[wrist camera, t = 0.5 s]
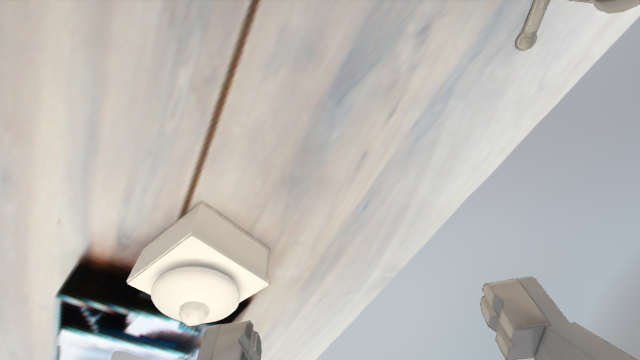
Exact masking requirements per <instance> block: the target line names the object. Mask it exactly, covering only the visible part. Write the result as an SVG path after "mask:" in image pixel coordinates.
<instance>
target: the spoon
mask: <svg viewBox="0 0 640 360" xmlns="http://www.w3.org/2000/svg"><path fill="white" fill-rule="evenodd" d="M549 2H550V0H534V2H533V5H532V8H531V10H530V13H529V15H528V18H527V21H526V23H525V26H524V28H523V31H522V33H521V34H520V35H519V36H518V38H517V40H516V47H517V48H518V49H519V50H523V51H525V50H528V49H530V48H531V47H532V46H533V45H534V44H535V42H536V39H537V34H536V33H537V31H538V28H539V26H540V23H541V21H542V19H543V16H544V14H545V11H546V9H547V6H548V4H549Z"/></svg>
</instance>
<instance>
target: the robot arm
mask: <svg viewBox="0 0 640 360" xmlns="http://www.w3.org/2000/svg"><path fill="white" fill-rule="evenodd" d="M482 291H483V293H484V296H483V297H482V298H481V303H480V305H481V310H482V313H483V316H484V319H485V321H486V323H487V325H488V326H489V327H490V328H491V329H492V330H494V331H495V332H497V333H496V339H495V340H496V342H497V344H498V346H499V348H500V350H501V352H502V354H503V355H504V357H505V359H506V360H517V359H526V358H534V359H535V360H638V359H636V358H634V357H633V356H631V355H629V354H627V353H626V352H624V351H622V350H621V349H619V348H617V347H616V346H614V345H612V344H611V343H609V342H607V341H606V340H604V339H602V338H600V337H599V336H597V335H595V334H594V333H592V332H590V331H589V330H587V329H585V328H584V327H582V326H580V325H579V324H577V323H575V322H573V323H569V321H568V320H567V319H566V317H565V316H564V315H563V313H562V312H561V311H560V310H559V308H558V307H557V306H556V304H555V303H554V302H553V300H552V299H551V298H550V297H549V295H548V294H547V293H546V291H545V290H544V289H543V288H542V286H541V285H540V284H539V282H538V281H537V280H536V279H535V278H533V277H530V276H529V277H523V278H517V279H509V280H503V281H498V282H492V283H486V284H484V285H483V288H482ZM261 351H262V350H261V340H260V336H259V334H258V332H256V331H254V330H253V324H252V322H251V321H250V320H249V321H243V322H236V323H230V324H221V325H215V326H209V327H208V328H207V329H206V331H205V333H204V337H203V340H202V343H201V347H200V350H199V354H198V357H197V360H261Z"/></svg>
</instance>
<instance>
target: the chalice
mask: <svg viewBox="0 0 640 360" xmlns="http://www.w3.org/2000/svg"><path fill="white" fill-rule="evenodd" d="M570 1H577V2H585V3H593V4H594V6H595V7H596V8H597V9H598V10H600V11H603V12H606V13H617V12H623V11H626V10H628V9H631V8H633V7H636V6H638V5H639V4H640V0H570Z"/></svg>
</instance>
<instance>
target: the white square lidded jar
mask: <svg viewBox="0 0 640 360" xmlns="http://www.w3.org/2000/svg"><path fill="white" fill-rule="evenodd" d="M269 251H270V249H269V248H268V247H266V246H265V245H263V244H262V243H260V242H259V241H258V240H256V239H255V238H253V237H252V236H251V235H249V234H248V233H246V232H245V231H244V230H242V229H241V228H239V227H238V226H236V225H235V224H234V223H232V222H231V221H229V220H228V219H227V218H225V217H224V216H222V215H221V214H220V213H218V212H217V211H215V210H214V209H212V208H211V207H210V206H208V205H207V204H205V203H204V202H203V201H201V202H200V203H199V204H198V205H196V206H195V207H194V208H193V209H191V210H190V211H189V212H188V213H186V214H185V215H184V216H183V217H181V218H180V219H179V220H178V221H176V222H175V223H174V224H173V225H171V226H170V227H169V228H168V229H166V230H165V231H164V232H163V233H161V234H160V235H159V236H158V237H156V238H155V239H154V240H152V241H151V242H150V243H149V244H147V245H146V246H145V247H144V249H143V251H142V253H141V254H140V256H139V258H138V260H137V262H136V264H135V266H134V268H133V270H132V272H131V274H130V275H129V277H128V279H127V281H126V282H128V284H129V285H131V286H133V287H135V288H137V289H139V290H141V291H144V292H146V293H148V294H150V295H151V298H152V301H153V303H154V304H155V306H156V307H157V308H158V309H159V310H160V311H161V312H162V313H164V314H165V315H167V316H169V317H171V318H173V319H176V320H178V321H182V322H184V323H185V324H187V325H188V326H193V325H199V324H200V323H209V322H214V321H218V320H221V319H223V318H225V317H227V316H228V315H230V314H231V313H232V312H234V310H235V309H236V308H237V306H238V304H239V302H241V301H243V300H244V299H246V298H248V297H249V296H251V295H253V294H254V293H256V292H258V291H259V290H261V289H263V288H264V287H266V286H268V285H269V284H270V281H269V280H268V279H267V276H268V263H269Z"/></svg>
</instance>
